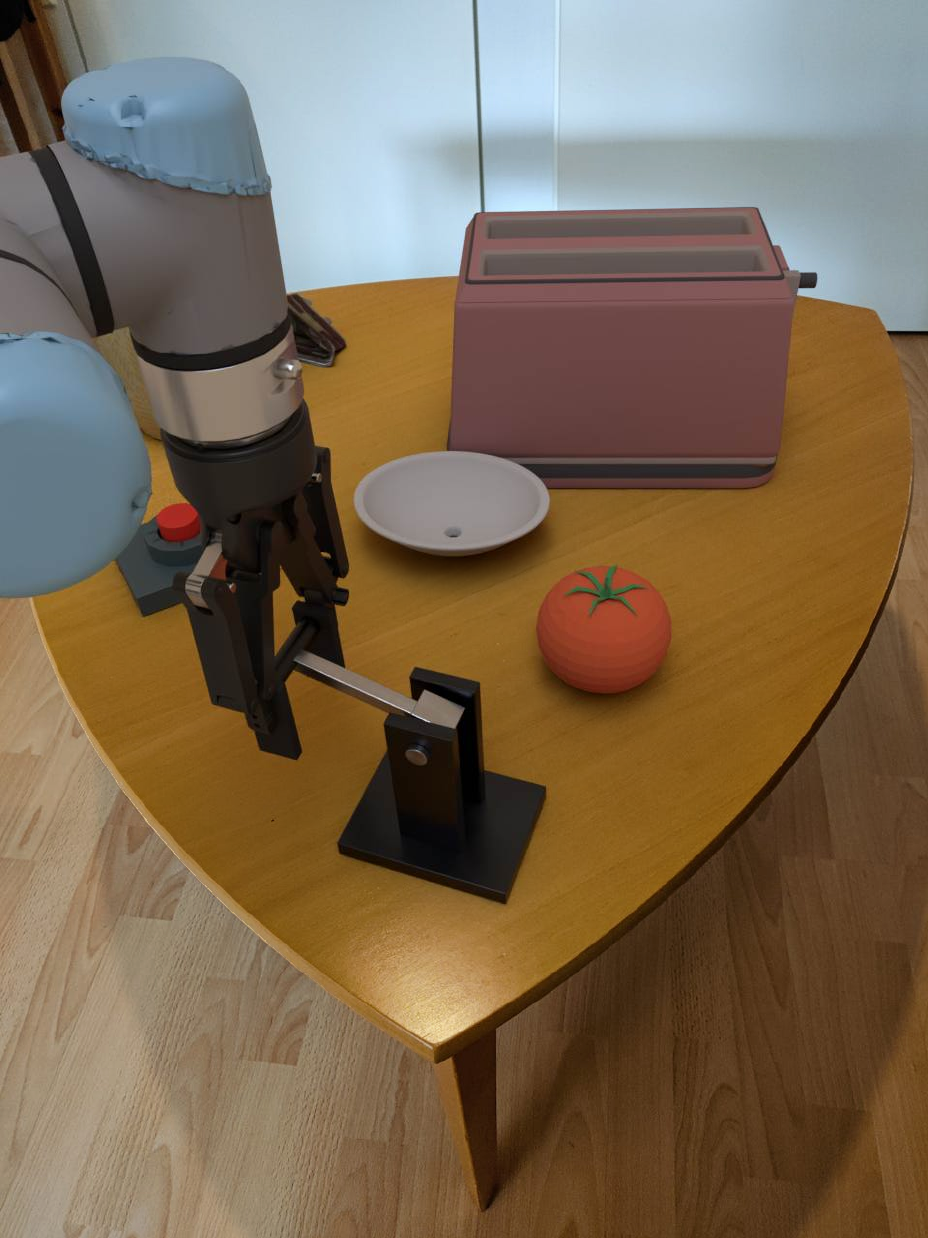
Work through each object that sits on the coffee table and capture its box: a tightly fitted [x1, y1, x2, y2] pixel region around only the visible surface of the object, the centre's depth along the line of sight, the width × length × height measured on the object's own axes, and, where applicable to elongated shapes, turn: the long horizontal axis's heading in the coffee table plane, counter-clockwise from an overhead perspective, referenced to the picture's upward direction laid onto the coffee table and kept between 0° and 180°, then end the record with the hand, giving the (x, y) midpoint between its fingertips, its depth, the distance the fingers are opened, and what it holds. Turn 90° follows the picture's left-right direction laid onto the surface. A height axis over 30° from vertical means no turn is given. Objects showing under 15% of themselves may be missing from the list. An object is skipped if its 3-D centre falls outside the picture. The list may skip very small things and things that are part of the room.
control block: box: [114, 513, 204, 617], centre depth 90 cm, size 12×10×4 cm
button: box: [156, 502, 200, 542], centre depth 88 cm, size 4×4×2 cm
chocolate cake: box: [287, 292, 347, 368], centre depth 120 cm, size 10×7×12 cm
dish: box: [353, 450, 551, 557], centre depth 90 cm, size 18×14×5 cm
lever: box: [275, 616, 465, 729], centre depth 62 cm, size 12×6×2 cm, turn 70°
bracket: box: [336, 666, 547, 905], centre depth 65 cm, size 12×9×13 cm
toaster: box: [446, 206, 818, 489], centre depth 96 cm, size 19×34×20 cm, turn 86°
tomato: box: [535, 564, 672, 694], centre depth 76 cm, size 10×10×10 cm
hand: (304, 712), depth 66 cm, fingers closed on lever, 6 cm apart
